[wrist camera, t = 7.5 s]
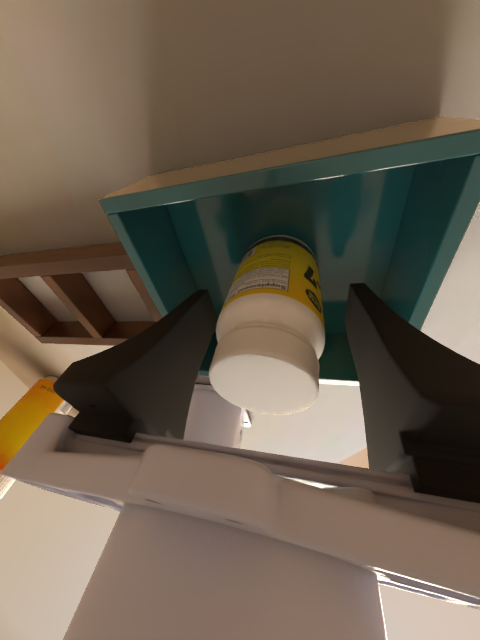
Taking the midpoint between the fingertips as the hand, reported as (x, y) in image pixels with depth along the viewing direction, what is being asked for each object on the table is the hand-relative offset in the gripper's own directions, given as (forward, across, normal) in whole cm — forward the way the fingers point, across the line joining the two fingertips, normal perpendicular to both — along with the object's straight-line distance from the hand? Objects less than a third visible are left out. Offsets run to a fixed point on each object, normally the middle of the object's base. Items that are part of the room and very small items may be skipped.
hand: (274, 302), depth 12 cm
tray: (+4, 0, 0) cm, 4 cm away
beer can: (+4, +36, +18) cm, 40 cm away
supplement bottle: (+3, 0, 0) cm, 3 cm away
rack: (+4, +16, +2) cm, 17 cm away
